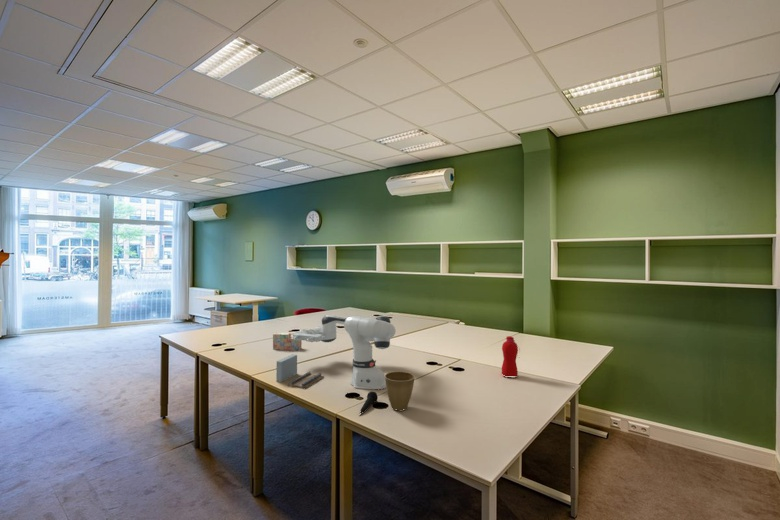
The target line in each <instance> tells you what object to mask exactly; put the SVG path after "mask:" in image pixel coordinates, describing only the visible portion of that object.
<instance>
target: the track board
mask: <svg viewBox="0 0 780 520" xmlns="http://www.w3.org/2000/svg"><path fill="white" fill-rule="evenodd" d="M323 377H324V378H325V376H324V375H322V372H320V373H317V374H315V373H313V374H312V371H308V372H306V373H304V374H301V376H299V377H296V378H295V379H293V380H292V381H290V382H289V383H288V384H287V387H291V386H292V388H299V389H304V388H305V389H308V388H309V387H311V386H313V385H314V384H315V382H316V383H318V382H319V381H320V379H321V380H322V379H324V378H323ZM312 384H313V385H312Z"/></svg>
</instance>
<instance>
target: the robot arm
mask: <svg viewBox="0 0 780 520" xmlns="http://www.w3.org/2000/svg"><path fill="white" fill-rule="evenodd" d="M337 324H341V325H343V326H344V330H345V331H346V333H347V334H348V335H349V337H350V339H351V343H352V349H353V359H352V373H351V374H352V375H351V379H350V385H352V386H353V387H354V389H359V390H361V389H362V390H375V389H378V390H379V389H381V390H383V388H384V389H386V382H385V373H384V371H383V370H381V369H379V367H377V365H376V363H377V360H374V359H373V346H372V344H371V342H373V344H374V346H375V348H376V349H379V350H386V349H387V348H389V347H390V345H391V339H392V338H393V337H394V336H395V334H396V327H395V326H394V324H393V323H391V319H390V317H389V316H387V315H379V316H376V318H373V317H369V316H368V317H366V316H359V315H352V316H348V317H346V318H345V317H339V316H336V315H331V314H327V315H324V316H323V317H322V319H321V326H316V327H313V328H308V329H300V330H299V331H296V332H294V333H292V337H293V339H294V340H302V341H306V342H307V343H308V342H309V343H310V342H311V343H314V342H316V343H317V342H322V343H332V342H334V341H335V340H336V339H337ZM378 390H377V391H378Z"/></svg>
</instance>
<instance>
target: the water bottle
mask: <svg viewBox="0 0 780 520" xmlns="http://www.w3.org/2000/svg"><path fill="white" fill-rule="evenodd" d="M505 339H506V341H504V342H503V344H502V347H501V350H502V357H503V361H502V366H501V375H502V374H503V375H505V376H517V377H518V371H519V370H518V366H517V362H516V361H517V358H518V357H519V356H518V352H519V351H521V349H520V348H519V346H518V344H517V343H516V341H515V340H514V339H515V338H514V337H513V336H506V338H505Z"/></svg>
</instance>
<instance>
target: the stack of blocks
mask: <svg viewBox="0 0 780 520" xmlns="http://www.w3.org/2000/svg"><path fill="white" fill-rule="evenodd" d="M291 334H292V333H291V332H275V333H273V334H272V350H276V349H280V351H281V350H283V351H300V350H302V341H303V340H294V339H293V336H291Z"/></svg>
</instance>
